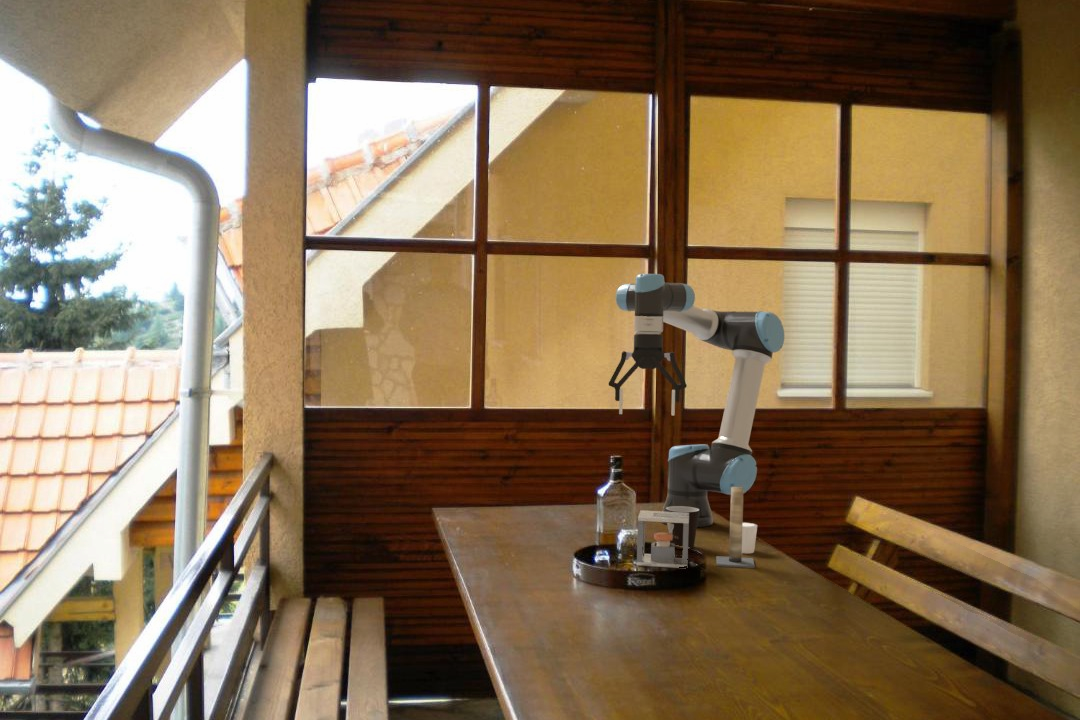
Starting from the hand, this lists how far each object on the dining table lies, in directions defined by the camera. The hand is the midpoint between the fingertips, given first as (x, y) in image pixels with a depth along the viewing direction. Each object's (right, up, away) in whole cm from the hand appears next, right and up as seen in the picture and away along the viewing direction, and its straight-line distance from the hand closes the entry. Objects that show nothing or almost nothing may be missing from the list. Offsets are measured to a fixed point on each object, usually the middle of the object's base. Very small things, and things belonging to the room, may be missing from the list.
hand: (646, 414), depth 271 cm
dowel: (+20, -35, -17) cm, 44 cm away
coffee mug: (+9, -35, +2) cm, 36 cm away
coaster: (+20, -36, -17) cm, 44 cm away
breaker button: (+2, -34, -19) cm, 39 cm away
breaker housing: (+2, -35, -19) cm, 40 cm away
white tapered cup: (+25, -35, -3) cm, 43 cm away
